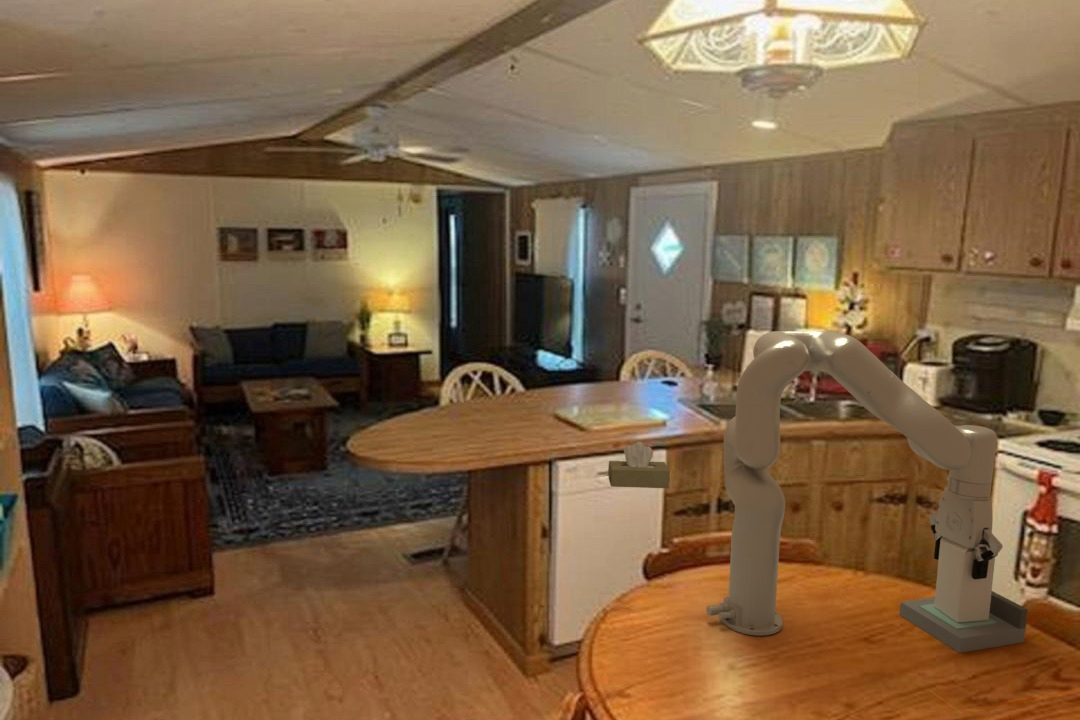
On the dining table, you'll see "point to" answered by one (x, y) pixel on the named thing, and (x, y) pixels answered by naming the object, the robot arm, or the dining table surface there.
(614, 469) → the tissue box
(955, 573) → the milk carton
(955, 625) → the plate
